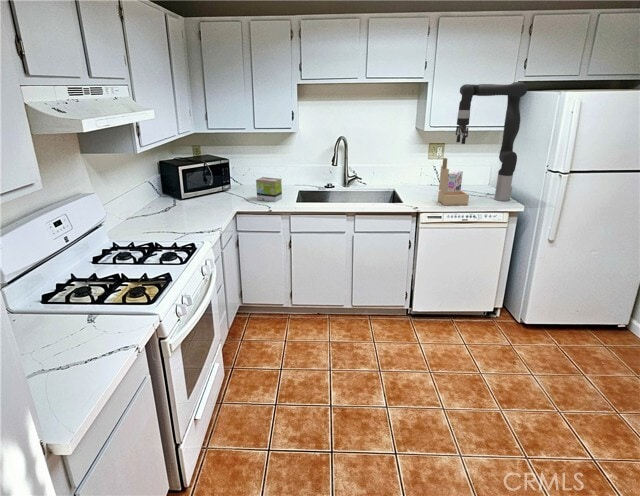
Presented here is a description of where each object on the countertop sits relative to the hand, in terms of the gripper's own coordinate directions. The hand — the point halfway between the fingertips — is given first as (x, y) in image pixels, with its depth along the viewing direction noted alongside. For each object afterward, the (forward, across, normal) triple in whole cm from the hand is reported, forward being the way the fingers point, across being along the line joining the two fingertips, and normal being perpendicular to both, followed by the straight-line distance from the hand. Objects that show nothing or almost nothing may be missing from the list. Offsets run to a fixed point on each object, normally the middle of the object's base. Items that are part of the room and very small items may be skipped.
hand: (460, 143), depth 271 cm
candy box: (+38, +12, -4) cm, 40 cm away
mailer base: (+38, -10, +5) cm, 40 cm away
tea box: (+38, +12, +128) cm, 134 cm away
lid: (+19, -10, +12) cm, 25 cm away
